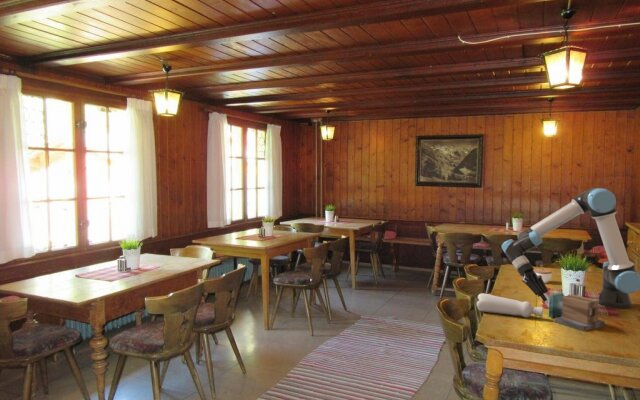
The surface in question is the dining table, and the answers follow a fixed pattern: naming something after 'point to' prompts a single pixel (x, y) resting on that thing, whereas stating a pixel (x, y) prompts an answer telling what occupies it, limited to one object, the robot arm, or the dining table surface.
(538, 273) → the lidded jar
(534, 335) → the dining table surface
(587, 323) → the bearing block
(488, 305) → the bottle
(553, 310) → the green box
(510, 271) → the dining table surface
